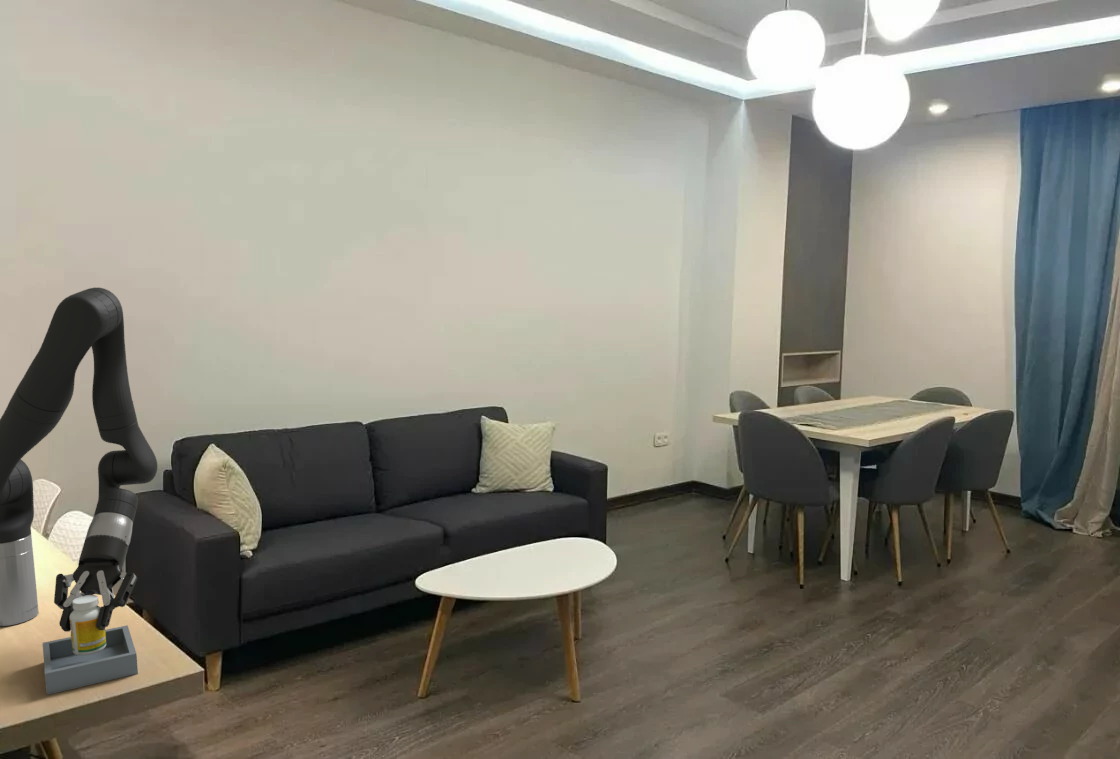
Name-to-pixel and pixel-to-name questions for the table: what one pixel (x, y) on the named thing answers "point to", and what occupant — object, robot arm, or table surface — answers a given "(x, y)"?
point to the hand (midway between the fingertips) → (82, 629)
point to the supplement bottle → (86, 626)
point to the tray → (88, 662)
